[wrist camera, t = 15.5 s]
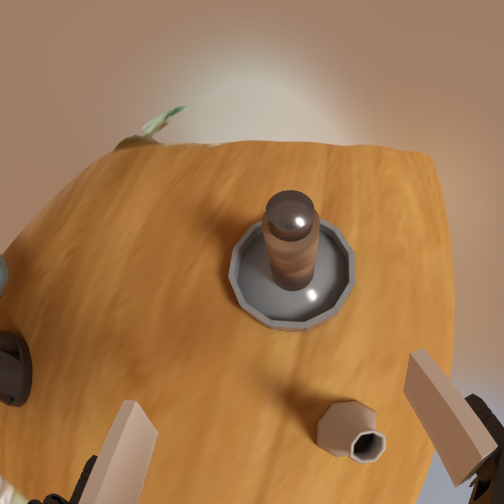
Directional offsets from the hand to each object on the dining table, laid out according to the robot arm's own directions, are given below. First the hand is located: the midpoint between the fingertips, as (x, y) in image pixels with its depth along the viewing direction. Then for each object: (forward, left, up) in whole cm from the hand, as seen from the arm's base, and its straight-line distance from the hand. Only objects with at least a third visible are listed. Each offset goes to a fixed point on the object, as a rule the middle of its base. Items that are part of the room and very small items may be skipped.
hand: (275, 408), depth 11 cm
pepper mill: (-1, +15, -19) cm, 24 cm away
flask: (+7, -4, -19) cm, 21 cm away
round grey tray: (-1, +15, -19) cm, 24 cm away
